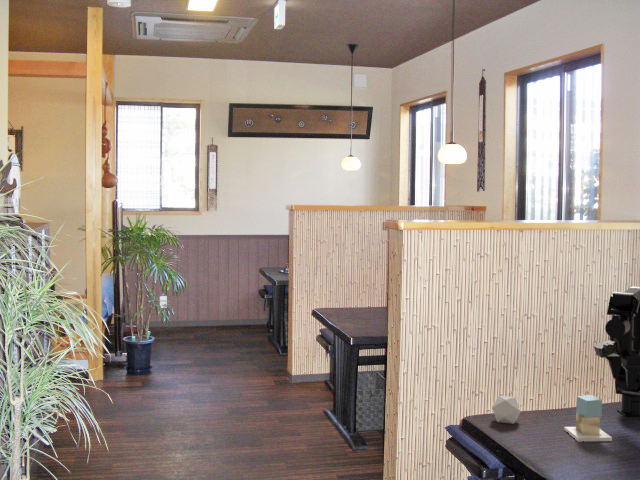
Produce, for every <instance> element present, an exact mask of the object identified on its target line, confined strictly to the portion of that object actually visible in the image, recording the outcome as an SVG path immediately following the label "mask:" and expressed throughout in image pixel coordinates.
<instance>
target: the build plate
mask: <svg viewBox="0 0 640 480" xmlns="http://www.w3.org/2000/svg"><path fill="white" fill-rule="evenodd" d="M563 429H564V431H565V432H566V433H567V432H568V433H569V436H570V437H572V438H573V439H574V438H575V439H574V440H576V441H577V442H579V443H580V442H582V443H583V441H584V442H612V441H613V437H612V436H611V435H609V434H608V433H607V432H605V431H603V429H601V428H600V434H582V433H580V432H579V431H578V430H577V429H576V426H564V428H563ZM568 433H567V434H568Z"/></svg>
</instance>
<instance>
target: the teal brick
mask: <svg viewBox="0 0 640 480" xmlns="http://www.w3.org/2000/svg"><path fill="white" fill-rule="evenodd" d="M602 403H603V400H602V398H599V397H597V396H595V395H592V394H589V395H588V394H587V395H576V412H575V414H576V413H578V414H580V415H582V416H584V417H586V418H590V417H600V418H601V417H602V414H603V413H602V411H603V409H602V408H603V406H602V405H603V404H602Z"/></svg>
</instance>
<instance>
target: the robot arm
mask: <svg viewBox="0 0 640 480" xmlns="http://www.w3.org/2000/svg"><path fill="white" fill-rule="evenodd" d="M607 315H609V316H611V319H609V320H608V321H606V324H605V326H604V330H605V332H606V334H607V335H608V336H609V338H608V340H604V341H601V342H598V343H596V344H594V345H593V349H594V351H595V354H596V356H598V357H599V358H602V359H603V358H604V359H605V360H606V361H608V362H607V363H608V364H609V365H608V366H609V368H610V371H611V375H612V378H613V379H614V386H615V394H616V395H620V396H621V400H620V401H621V403H620V405H621V406H620V408H616V411H617V412H619V413H620V414H622V415H623V416H626V417H629V416H630V417H634V416H637V417H639V416H640V286H630V287H628V289H626V290H625V291H624V292H623V291H613V293H612V294H611V295H610V297H609V302H608V307H607V311H606V316H607Z"/></svg>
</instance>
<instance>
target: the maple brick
mask: <svg viewBox="0 0 640 480" xmlns="http://www.w3.org/2000/svg"><path fill="white" fill-rule="evenodd" d="M600 424H601V417H590V418H586V417H584V416H582V415H580V414H578V413H576V412H575V427H576V429H577V430H578V431H579V432H580V433H582V434H600V429H601V427H600V426H601V425H600Z"/></svg>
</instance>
